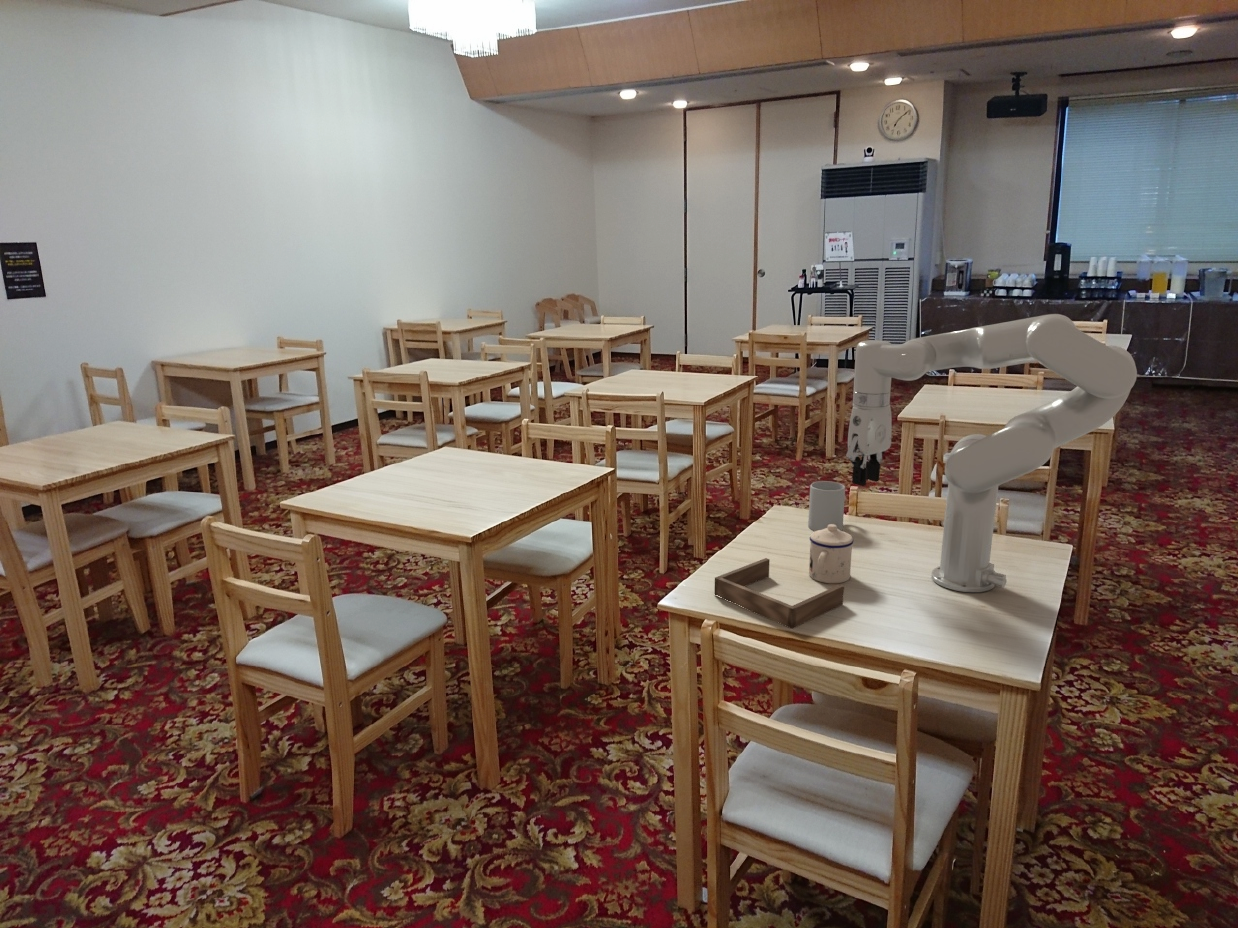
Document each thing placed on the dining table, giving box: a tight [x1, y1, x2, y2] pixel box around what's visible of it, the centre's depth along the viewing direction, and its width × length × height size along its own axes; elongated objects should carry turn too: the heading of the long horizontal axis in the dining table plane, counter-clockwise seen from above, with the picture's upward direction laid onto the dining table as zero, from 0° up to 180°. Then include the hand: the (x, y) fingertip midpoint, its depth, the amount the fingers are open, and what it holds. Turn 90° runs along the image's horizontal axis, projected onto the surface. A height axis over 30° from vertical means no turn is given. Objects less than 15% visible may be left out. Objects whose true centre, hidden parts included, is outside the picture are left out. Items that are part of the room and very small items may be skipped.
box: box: [713, 557, 845, 629], centre depth 172 cm, size 20×16×4 cm
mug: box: [807, 480, 846, 532], centre depth 213 cm, size 12×8×11 cm
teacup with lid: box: [808, 524, 854, 584], centre depth 181 cm, size 12×9×12 cm
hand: (865, 481), depth 185 cm, fingers open, 4 cm apart
